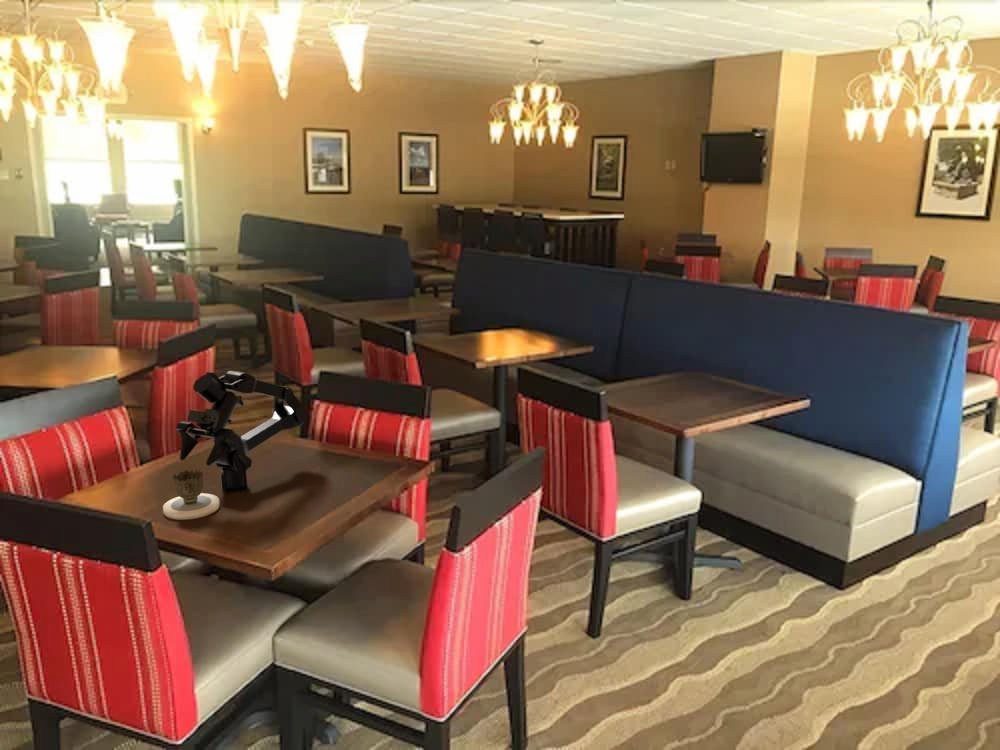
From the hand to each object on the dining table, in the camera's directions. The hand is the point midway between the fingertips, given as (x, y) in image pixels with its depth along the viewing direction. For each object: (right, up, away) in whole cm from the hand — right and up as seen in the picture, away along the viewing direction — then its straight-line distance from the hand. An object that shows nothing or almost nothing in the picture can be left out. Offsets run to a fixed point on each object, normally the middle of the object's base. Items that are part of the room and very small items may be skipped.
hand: (194, 462), depth 213 cm
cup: (-1, -11, +1) cm, 11 cm away
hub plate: (-1, -12, +1) cm, 13 cm away
